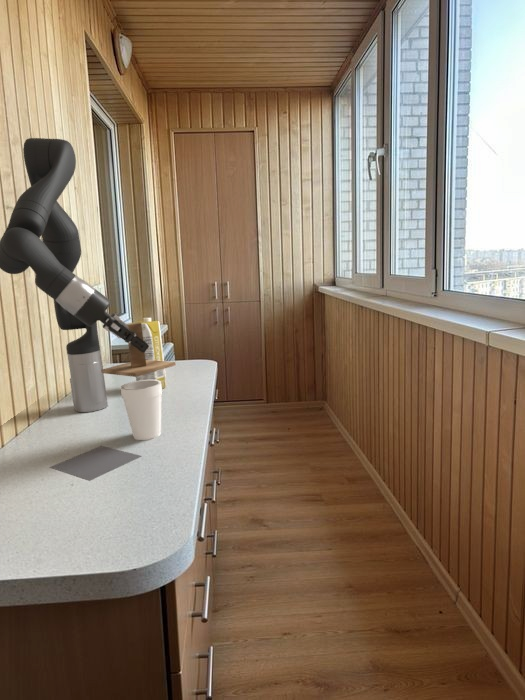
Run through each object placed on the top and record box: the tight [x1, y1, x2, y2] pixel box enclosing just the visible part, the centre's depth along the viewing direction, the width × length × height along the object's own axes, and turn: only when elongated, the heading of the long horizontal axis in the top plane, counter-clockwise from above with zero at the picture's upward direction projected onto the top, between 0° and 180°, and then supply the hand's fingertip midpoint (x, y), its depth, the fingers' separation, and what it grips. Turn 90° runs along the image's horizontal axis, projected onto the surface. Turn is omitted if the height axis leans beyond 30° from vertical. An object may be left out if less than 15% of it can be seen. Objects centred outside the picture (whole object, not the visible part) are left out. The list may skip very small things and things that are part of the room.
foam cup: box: [120, 380, 163, 441], centre depth 115 cm, size 10×9×13 cm
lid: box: [101, 321, 176, 378], centre depth 112 cm, size 12×12×11 cm
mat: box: [49, 445, 142, 482], centre depth 103 cm, size 14×13×1 cm
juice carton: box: [132, 317, 168, 390], centre depth 161 cm, size 9×8×24 cm
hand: (145, 348), depth 113 cm, fingers closed on lid, 3 cm apart
